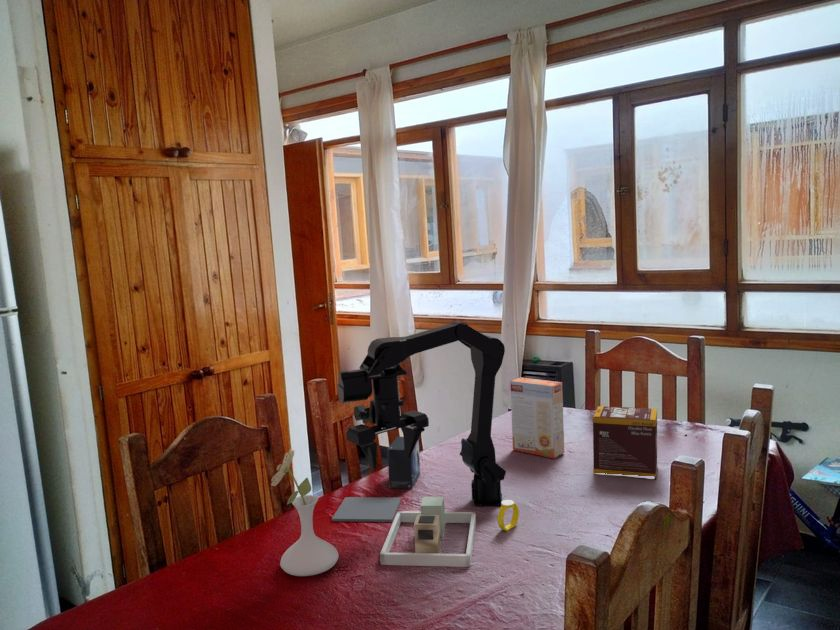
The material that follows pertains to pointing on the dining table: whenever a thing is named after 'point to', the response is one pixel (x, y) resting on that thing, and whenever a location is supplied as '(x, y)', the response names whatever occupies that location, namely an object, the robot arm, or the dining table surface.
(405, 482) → the small box
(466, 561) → the white square frame
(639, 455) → the supplement box
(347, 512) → the mat
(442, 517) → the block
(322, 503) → the dining table surface
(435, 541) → the labelled block
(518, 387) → the cracker box
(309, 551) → the flower in vase
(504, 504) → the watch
